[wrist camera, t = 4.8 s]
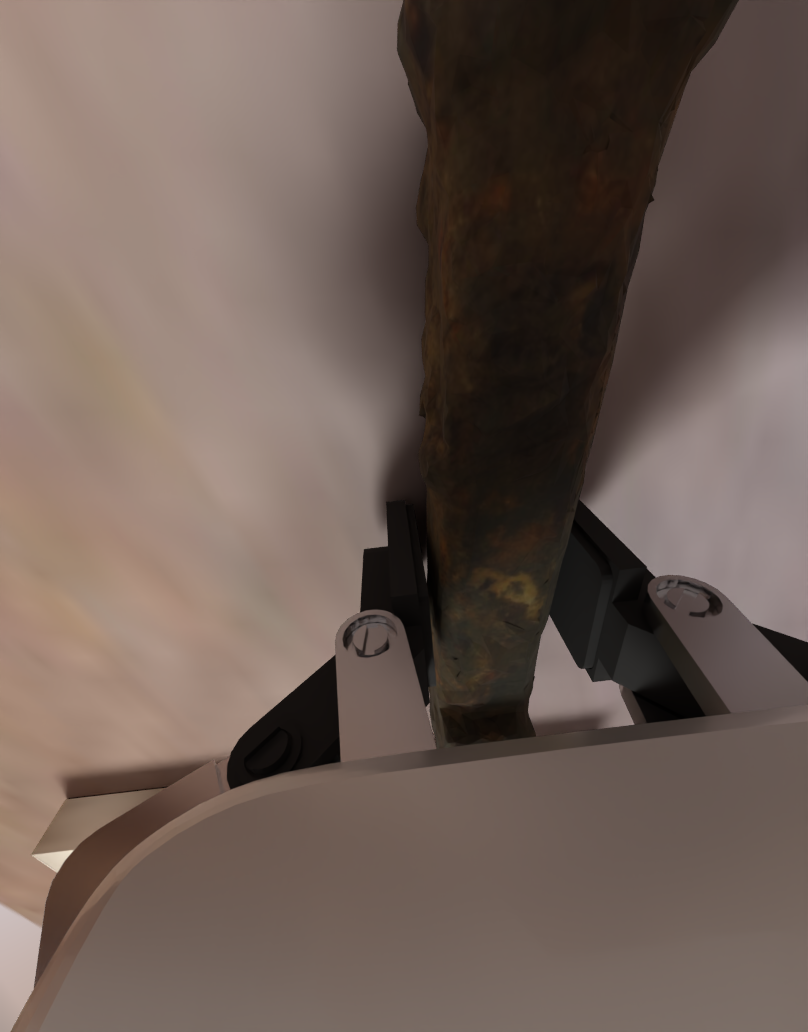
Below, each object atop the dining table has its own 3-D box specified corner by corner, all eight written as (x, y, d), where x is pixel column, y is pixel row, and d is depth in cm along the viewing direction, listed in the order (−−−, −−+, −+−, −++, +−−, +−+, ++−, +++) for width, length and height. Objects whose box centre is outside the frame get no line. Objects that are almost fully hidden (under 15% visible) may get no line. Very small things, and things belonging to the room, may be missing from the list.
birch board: (582, 738, 17) (606, 790, 16) (555, 847, 23) (570, 893, 22) (65, 799, 17) (29, 857, 15) (172, 892, 23) (154, 942, 21)
